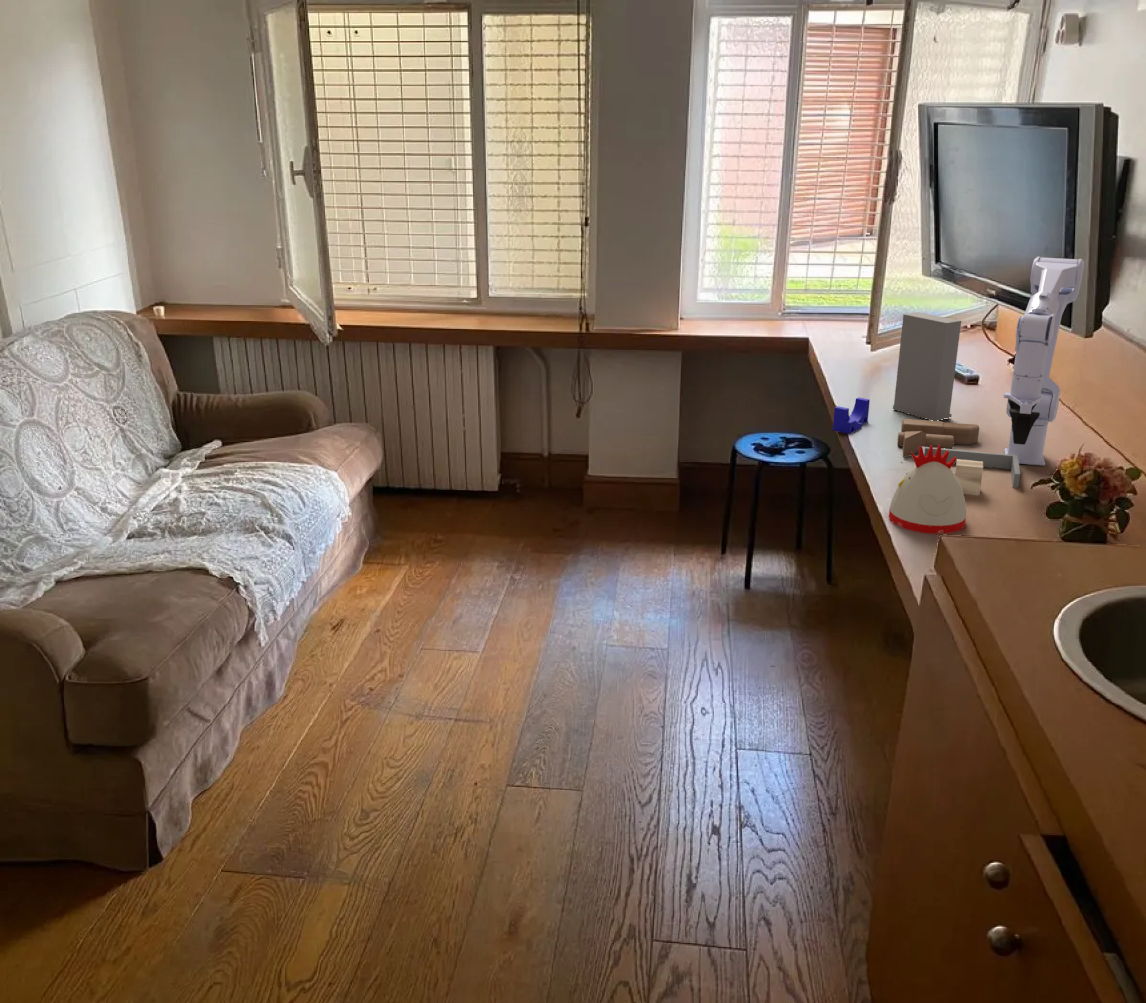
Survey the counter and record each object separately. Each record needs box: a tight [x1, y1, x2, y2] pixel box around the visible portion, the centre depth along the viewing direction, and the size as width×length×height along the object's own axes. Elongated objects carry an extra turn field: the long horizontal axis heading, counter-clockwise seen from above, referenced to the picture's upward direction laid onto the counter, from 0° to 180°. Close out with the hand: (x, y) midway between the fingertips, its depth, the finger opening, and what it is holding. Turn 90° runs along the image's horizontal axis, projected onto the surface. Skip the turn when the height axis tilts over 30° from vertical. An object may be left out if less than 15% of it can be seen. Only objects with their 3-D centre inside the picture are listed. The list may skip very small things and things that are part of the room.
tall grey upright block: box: [892, 311, 962, 421], centre depth 257 cm, size 14×6×25 cm, turn 31°
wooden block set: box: [896, 418, 980, 458], centre depth 235 cm, size 17×6×18 cm
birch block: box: [954, 459, 984, 496], centre depth 208 cm, size 4×5×6 cm
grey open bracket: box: [922, 447, 1021, 489], centre depth 219 cm, size 13×20×3 cm, turn 70°
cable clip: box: [832, 397, 871, 435], centre depth 251 cm, size 12×4×6 cm, turn 137°
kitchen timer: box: [888, 445, 967, 535], centre depth 192 cm, size 14×14×15 cm
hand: (1018, 438), depth 211 cm, fingers open, 7 cm apart
